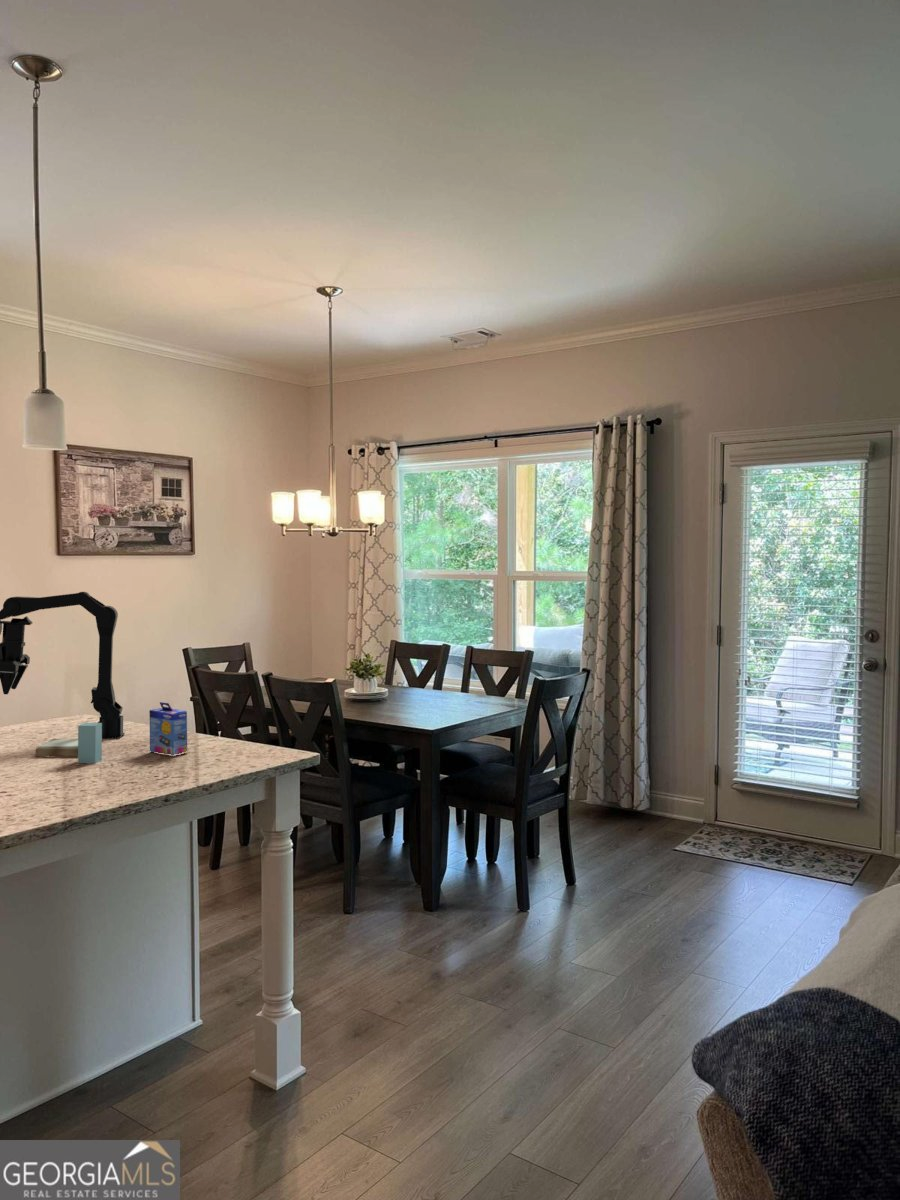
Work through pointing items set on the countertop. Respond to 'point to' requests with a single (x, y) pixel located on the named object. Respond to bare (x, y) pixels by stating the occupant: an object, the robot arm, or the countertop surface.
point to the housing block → (89, 742)
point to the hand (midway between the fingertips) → (9, 691)
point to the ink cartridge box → (168, 730)
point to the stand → (58, 748)
